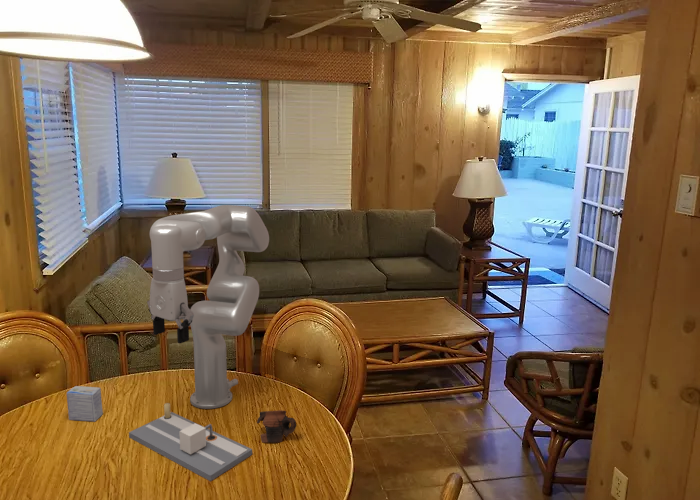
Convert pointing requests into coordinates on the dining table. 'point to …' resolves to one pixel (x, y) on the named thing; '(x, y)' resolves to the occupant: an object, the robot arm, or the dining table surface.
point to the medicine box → (84, 403)
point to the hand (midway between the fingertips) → (171, 337)
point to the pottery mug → (276, 425)
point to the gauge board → (203, 462)
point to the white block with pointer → (194, 438)
